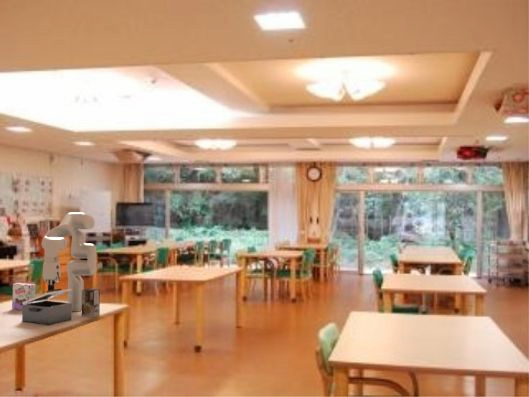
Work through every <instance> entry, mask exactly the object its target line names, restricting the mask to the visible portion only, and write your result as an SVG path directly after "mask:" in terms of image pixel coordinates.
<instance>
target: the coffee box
mask: <svg viewBox="0 0 529 397" xmlns="http://www.w3.org/2000/svg"><path fill="white" fill-rule="evenodd" d="M100 295H101V289H100V288H99V289H98V288H84V290H82V311H81V317H88V318H89V317H90V318H96V317H100V314H101V313H100V309H101V308H100V306H101V305H100V304H101V303H100V302H101V296H100Z"/></svg>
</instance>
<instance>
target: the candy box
mask: <svg viewBox="0 0 529 397" xmlns="http://www.w3.org/2000/svg"><path fill="white" fill-rule="evenodd" d="M34 297H36V283H35V284H34V283H24V282H15V283H12V303H11V306H12V307H11V309H12V310H17V311H18V310H19V311H22V305H23V303H22V302H24V301H27V300H29V299H32V298H34ZM32 303H34V302H32ZM27 304H28V303H27Z"/></svg>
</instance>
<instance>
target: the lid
mask: <svg viewBox="0 0 529 397" xmlns="http://www.w3.org/2000/svg"><path fill="white" fill-rule="evenodd" d="M70 291H72V290H71V289H68V288H67V289H62V288H56V289H55V288H54V290H48V289H47V290H46V291H45V293H43V294H40V295H37V296H35V297H34V298H32V299H29V300H27V301H24V302H22V303H23V304H27V303H32V302H40V301H45V300H48V301H49V300H51V299H53V298H56V297H59V296H62V295H64V294H68V292H70Z"/></svg>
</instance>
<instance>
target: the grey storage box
mask: <svg viewBox="0 0 529 397" xmlns="http://www.w3.org/2000/svg"><path fill="white" fill-rule="evenodd" d="M21 312H22V313H21V314H22V316H21V318H22V319H21V322H22V323H24V324H25V323H26V324H35V325H42V326H52V325H57V324H62V323H66V322H70V321H73V320H72V319H73V318H72V317H73V311H72V303H68V301H66V302H64V301H58V300H57V301H56V300H55V301H54V300H49V299H48V300H44V301H38V302H34V303H28V304H23V305H22V310H21Z"/></svg>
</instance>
